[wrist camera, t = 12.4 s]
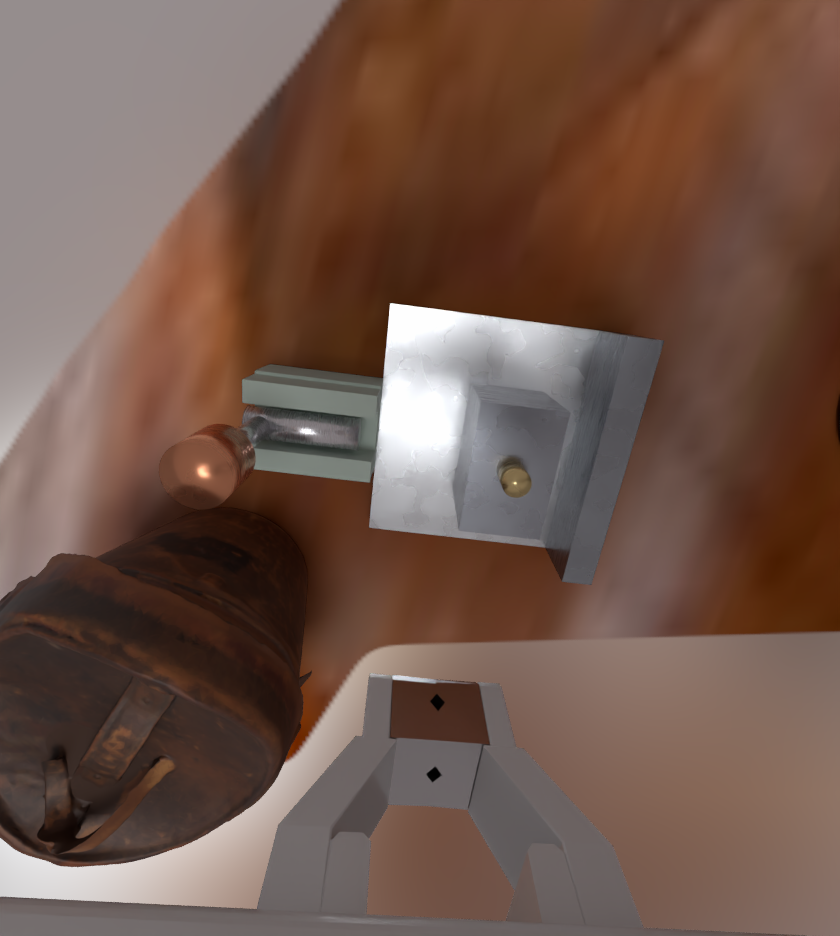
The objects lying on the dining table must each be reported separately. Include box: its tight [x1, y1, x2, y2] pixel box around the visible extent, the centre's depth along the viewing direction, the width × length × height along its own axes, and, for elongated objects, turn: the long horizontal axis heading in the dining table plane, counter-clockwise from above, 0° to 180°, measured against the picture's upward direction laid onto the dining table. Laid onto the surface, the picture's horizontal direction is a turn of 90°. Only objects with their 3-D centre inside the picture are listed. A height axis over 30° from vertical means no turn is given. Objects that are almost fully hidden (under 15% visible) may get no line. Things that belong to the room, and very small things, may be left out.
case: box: [0, 508, 312, 867], centre depth 30 cm, size 18×20×18 cm
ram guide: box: [242, 364, 383, 483], centre depth 30 cm, size 8×6×5 cm
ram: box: [159, 406, 361, 510], centre depth 25 cm, size 8×3×10 cm, turn 83°
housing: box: [453, 383, 571, 540], centre depth 29 cm, size 5×8×8 cm, turn 173°
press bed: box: [369, 303, 664, 585], centre depth 31 cm, size 16×16×6 cm
